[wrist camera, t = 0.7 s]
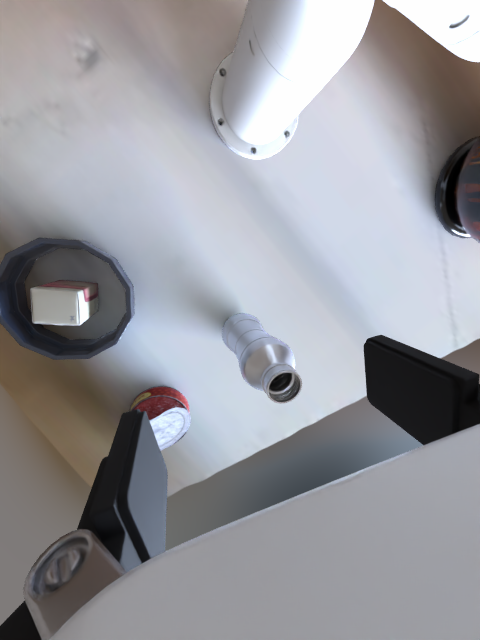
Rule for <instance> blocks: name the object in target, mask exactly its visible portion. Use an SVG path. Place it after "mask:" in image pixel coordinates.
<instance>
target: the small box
mask: <svg viewBox="0 0 480 640" xmlns="http://www.w3.org/2000/svg"><path fill="white" fill-rule="evenodd" d="M31 311H32V322H33V323H35V324H51V325H72V326H80V325H81V324H82V323H83V322H85V321H86V320H87V319H88V318H90V317H91V316H92V315H93V314H95V313H96V312H97V311H98V284H97V283H92V282H82V281H68V280H59V281H55V282H51V283H48V284H44V285H41V286H37V287H34V288H31Z"/></svg>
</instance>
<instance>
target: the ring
mask: <svg viewBox="0 0 480 640" xmlns="http://www.w3.org/2000/svg"><path fill="white" fill-rule="evenodd" d="M59 248H69V249H84V250H86V251H88V252H90V253H91V254H93V255H95V256H97V257H98V258H100V259H102V260H104V261H105V262H107V263H109V265H110V267H111V268H112V270H113V271H114V273H115V274H116V276H117V277H118V279H119V280H120V282H121V283H122V285H123V286H124V288H125V290H126V313H125V315H124V317H123V318H122V320H121V322H120V323H119V325H118V327H117V328H116V329H115V330H113V331H111V332H109V333H107V334H105V335H103V336H101V337H99V338H98V339H75V340H70V339H68V338H66V337H63V336H61V335H59V334H57V333H54V332H52V331H50V330H48V329H46V328H44V326H43V325H42V324H35V323H33V322H32V312H31V311H30V309H29V308H28V305H27V298H26V291H25V284H24V281H25V279H26V277H27V276H28V274H29V272H30V270H31V268H32V266H33V264H34V263H35V261H36V259H38V258H40V257H42V256H44V255H46V254H48V253H50V252H52V251H54V250H57V249H59ZM14 311H15V312H14ZM134 314H135V313H134V286H133V284H132V282H131V281H130V279H129V278H128V276H127V275H126V273H125V272H124V270H123V268H122V267H121V265H120V264H119V262H118V261H117V259H116V258H114V257H113V256H111V255H109V254H107V253H106V252H104V251H102V250H101V249H99V248H97V247H95V246H94V245H92V244H90V243H89V242H87V241H81V240H66V239H52V238H38V239H35V240H33V241H31V242H29V243H27V244H25V245H23V246H21V247H19V248H17V249H15V250H13V251H11V252H9V253H7V254H6V255H5V257H4V259H3V261H2V262H1V264H0V323H1V324H2V325H3V326H4V328H5V329H6V330H7V331H8V332H9V333H10V334H11V336H12V337H13V338H14V339H15V340H16V341H17V342H18V344H19V345H20V346H23V347H25V348H27V349H30V350H32V351H34V352H37V353H39V354H42V355H44V356H46V357H49V358H51V359H54V360H60V359H89V358H91V357H93V356H95V355H97V354H98V353H100V352H102V351H104V350H106V349H108V348H110V347H112V346H113V345H115V344H117V342H118V341H119V339H120V337H121V336H122V334H123V332H124V331H125V329H126V327H127V326H128V324H129V322H130V321H131V319H132V317H133V316H134Z"/></svg>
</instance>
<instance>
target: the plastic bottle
mask: <svg viewBox="0 0 480 640" xmlns="http://www.w3.org/2000/svg"><path fill="white" fill-rule="evenodd" d="M222 338H223V341H224V343H225V345H226V346H227V347H228V348H229V349H230V350H231V351H232V352H234V353H235V355H236V356H237V359H238V362H239V366H240V371H241V374H242V376H243V378H244V380H245V381H246V382H247V383H248V384H249V385H250V386H252V387H254V388H255V389H258V390H261V391H264V392H265V393H266V394H267V395H268V397H269V398H270V399H271V400H272V401H274V402H276V403H287V402H289V401H291V400H293V399H294V398H295V397H297V395H298V394H299V392H300V391H301V388H302V381H301V378H300V376H299V375H298V374H297V372H296V370H295V359H294V355H293V352H292V350H291V349H290V347H289V346H288V345H287V344H285V343H284V342H282V341H281V340H279V339H277V338H275V337H273V336H271V335H269V334H268V333H267V332H266V331H265V330H264V329H263V326H262V324H261V323H260V321H259V320H258V319H257V318H256V317H254V316H252V315H250V314H245V313H239V314H235V315H233V316H231V317H230V318H229V319H228V320H227V321H226V322H225V324H224V326H223V329H222Z"/></svg>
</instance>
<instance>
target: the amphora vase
mask: <svg viewBox="0 0 480 640" xmlns="http://www.w3.org/2000/svg"><path fill="white" fill-rule="evenodd" d="M435 206H436V212H437V215H438V219H439V221H440V222H441V224H442V225H443V227H444V228H445V230H447V231H448V232H449V233H450V234H452V235H454V236H457V237H460V238H474V239H475V240H476V241H477V242H479V243H480V136H479V137H476V138H473V139H470V140H468V141H467V142H465V143H464V144H462V145H461V146H460V147H458V148H457V149H456V150H455V152H454V153H453V154H452V155H451V156H450V157H449V159H448V160H447V162H446V164H445V166H444V167H443V169H442V171H441V173H440V176H439V179H438V182H437V186H436V193H435Z"/></svg>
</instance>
